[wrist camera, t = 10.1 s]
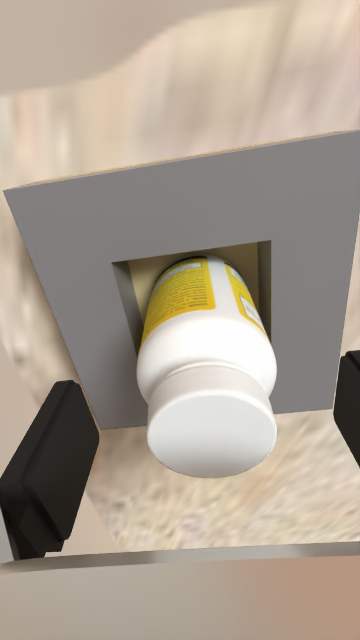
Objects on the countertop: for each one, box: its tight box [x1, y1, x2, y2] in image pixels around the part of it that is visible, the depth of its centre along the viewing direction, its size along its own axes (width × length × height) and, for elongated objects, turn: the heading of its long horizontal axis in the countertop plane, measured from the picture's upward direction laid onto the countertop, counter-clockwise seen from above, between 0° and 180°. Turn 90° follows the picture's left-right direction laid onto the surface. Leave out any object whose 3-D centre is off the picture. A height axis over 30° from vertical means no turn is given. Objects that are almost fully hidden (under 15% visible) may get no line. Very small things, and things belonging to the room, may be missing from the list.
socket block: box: [3, 130, 360, 430], centre depth 17 cm, size 14×14×4 cm
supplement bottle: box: [137, 253, 277, 478], centre depth 13 cm, size 5×5×10 cm
